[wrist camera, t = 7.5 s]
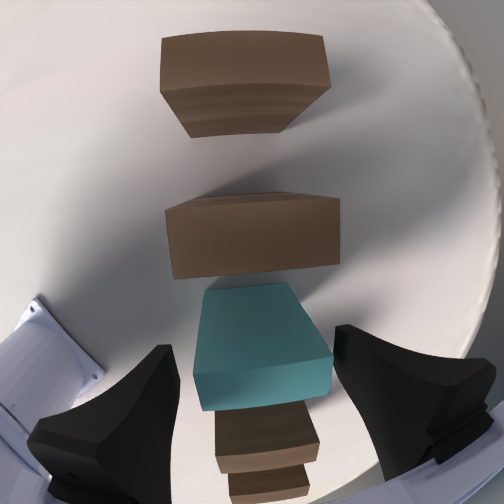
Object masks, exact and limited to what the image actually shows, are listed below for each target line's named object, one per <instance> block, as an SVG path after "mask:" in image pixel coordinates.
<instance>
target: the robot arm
mask: <svg viewBox="0 0 504 504" xmlns="http://www.w3.org/2000/svg"><path fill="white" fill-rule="evenodd" d="M33 308H34V309H33ZM333 355H334V360H333V366H334V369H335V371H336V374H337V376H338V378H339V380H340V382H341V384H342V385H343V387H344V389H345V390H346V392H347V394H348V395H349V397H350V398H351V400H352V402H353V403H354V405H355V406H356V408H357V410H358V411H359V413H360V415H361V417H362V419H363V421H364V423H365V425H366V427H367V430H368V432H369V434H370V437H371V439H372V442H373V445H374V447H375V450H376V453H377V456H378V459H379V462H380V465H381V468H382V471H383V475H384V479H385V482H384V483H382V484H379V485H377V486H375V487H372V488H369V489H367V490H364V491H361V492H358V493H356V494H353V495H350V496H347V497H344V498H340V499H337V500H333V501H330V502H326V503H323V504H461V503H463V502H464V501H465V500H466V499H468V498H469V497H470V496H472V495H473V494H474V493H475V492H476V491H478V490H479V489H480V488H481V487H482V486H484V485H485V484H486V483H487V482H488V481H489V480H490V479H491V478H492V477H494V476H495V475H496V474H497V473H498V472H499V471H500V470H501V469H502V468H503V467H504V400H503V401H502V402H501V403H500V404H499V405H498V406H496V407H495V408H494V409H493V410H492V411H491V413H490V414H488V413H487V412H486V411H485V410H486V409H487V408H488V406H487V404H485V403H484V400H485V398H486V397H487V395H488V393H489V391H490V389H491V387H492V385H493V382H494V380H495V377H496V367H495V366H494V365H493V364H492V363H490V362H489V361H488V360H486V359H485V358H471V359H458V358H445V357H438V356H432V355H426V354H422V353H418V352H415V351H411V350H408V349H405V348H402V347H399V346H396V345H394V344H391V343H389V342H386V341H384V340H382V339H380V338H377V337H375V336H373V335H371V334H369V333H367V332H365V331H363V330H361V329H358V328H356V327H354V326H352V325H349V324H346V325H340V326H336V327H335V338H334V348H333ZM94 374H95V375H96V376H95V375H94ZM104 376H105V372H104V370H103V369H102V368H101V367H100V366H99V365H98V364H97V363H96V362H94V361H93V360H92V359H91V358H90V357H89V356H88V355H87V354H86V353H85V352H84V351H83V350H82V349H81V348H80V347H79V346H78V345H77V344H76V343H75V341H74V340H73V339H72V338H71V337H70V336H69V335H68V334H67V333H66V332H65V331H64V330H63V328H62V327H61V326H60V325H59V324H58V323H57V322H56V320H55V319H54V318H53V317H52V316H51V315H50V313H49V312H48V311H47V310H46V308H45V307H44V306H43V305H42V303H41V302H40V301H39V300H38V299H37V298H34V299H33V300H31V302H30V303H29V305H28V306H27V308H26V309H25V311H24V313H23V314H22V316H21V318H20V319H19V321H18V323H17V325H16V326H15V328H14V330H13V332H12V333H11V335H10V336H8V337H7V338H6V339H5V340H4V341H3V342H2V343H1V344H0V504H172V501H171V481H170V462H171V443H172V436H173V430H174V425H175V420H176V415H177V409H178V404H179V398H180V377H179V373H178V369H177V366H176V362H175V358H174V354H173V350H172V345H171V344H167V345H157V346H156V347H155V348H154V349H153V350H152V351H151V352H150V353H149V354H148V355H147V356H146V357H145V358H144V359H143V360H142V361H141V362H140V363H139V364H138V365H137V366H136V367H135V368H134V369H133V370H132V371H130V372H129V373H128V374H127V375H126V376H125V377H124V378H122V379H121V380H120V381H119V382H118V383H116V384H115V385H114V386H112V387H111V388H109V389H108V390H107V391H105V392H104V393H102V394H100V395H99V396H97V397H95V398H93V399H91V400H90V401H88V402H86V403H84V404H82V405H80V406H78V407H75V408H73V409H71V407H72V405H73V403H74V401H75V400H76V399H77V398H78V397H80V396H81V395H82V394H83V393H85V392H86V391H87V390H89V389H90V388H91V387H92V386H94V385H95V384H96V383H98V382H99V381H100V380H102V379H103V378H104ZM49 474H51V475H52V476H53V477H52V479H51V480H50V478H49V477H48V476H49Z"/></svg>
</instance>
